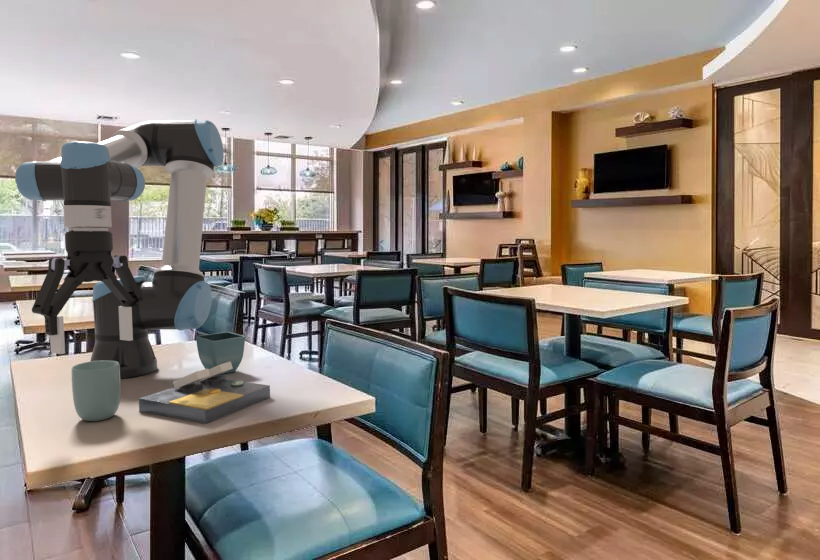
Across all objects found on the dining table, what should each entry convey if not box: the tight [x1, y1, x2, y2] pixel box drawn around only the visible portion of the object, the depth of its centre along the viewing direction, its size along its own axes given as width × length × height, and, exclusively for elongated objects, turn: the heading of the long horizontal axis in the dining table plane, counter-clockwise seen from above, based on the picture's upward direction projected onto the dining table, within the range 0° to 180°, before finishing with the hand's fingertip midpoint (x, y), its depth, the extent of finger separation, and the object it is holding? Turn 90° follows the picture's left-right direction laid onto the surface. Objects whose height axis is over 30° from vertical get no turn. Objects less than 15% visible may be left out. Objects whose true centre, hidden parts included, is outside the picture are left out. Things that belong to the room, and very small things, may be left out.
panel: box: [138, 374, 271, 425], centre depth 116 cm, size 17×18×3 cm
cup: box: [70, 360, 122, 422], centre depth 107 cm, size 8×8×10 cm
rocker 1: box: [172, 368, 210, 389], centre depth 117 cm, size 7×3×2 cm, turn 63°
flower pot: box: [195, 331, 246, 376], centre depth 141 cm, size 9×9×9 cm
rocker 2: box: [199, 361, 233, 382], centre depth 123 cm, size 7×3×2 cm, turn 63°
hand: (94, 346), depth 106 cm, fingers open, 13 cm apart
